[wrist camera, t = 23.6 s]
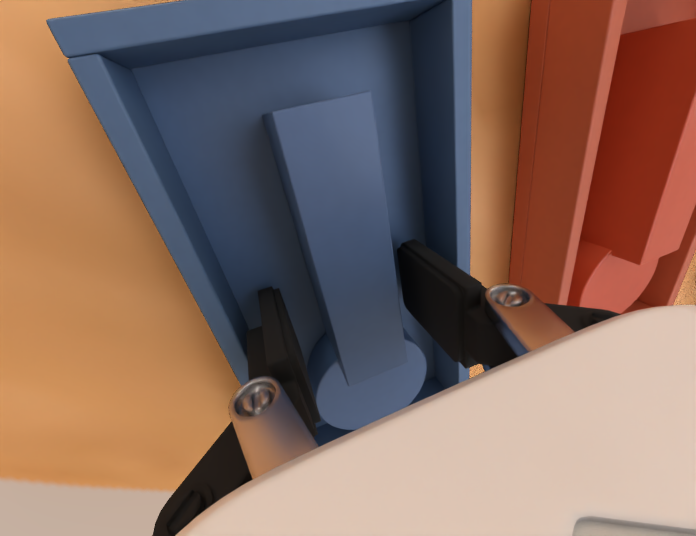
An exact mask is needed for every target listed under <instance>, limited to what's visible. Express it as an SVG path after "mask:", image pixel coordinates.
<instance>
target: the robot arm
mask: <svg viewBox="0 0 696 536" xmlns="http://www.w3.org/2000/svg"><path fill="white" fill-rule="evenodd" d="M397 255H398V263H399V271H400V279H401V287H402V295H403V302H404V305H405V307H406V309H407V310H408V311H409V312H410V313H411V315H412V316H413V317H414V318H415V319H416V320H417V321H418V322H419V323H420V325H421V326H422V327H423V328H424V329H425V330H426V331H427V332H428V333H429V334H430V336H431V337H432V338H433V339H434V340H435V341H436V342H437V343H438V344H439V345H440V347H441V348H442V349H443V350H444V351H445V352H446V353H447V354H448V355H449V356H450V358H451V359H452V360H453V361H454V362H460V363H461V364H462V365H463V367H464V368H465V369H467V368H470V367H472V366H474V365H476V364H482V365H483V368H484V370H485V372H483V373H481V374H479V375H476V376H474V377H472V378H470V379H467V380H465V381H463V382H461V383H458V384H456V385H454V386H452V387H450V388H447V389H445V390H443V391H441V392H438V393H436V394H434V395H432V396H430V397H427V398H425V399H423V400H421V401H418V402H416V403H414V404H412V405H410V406H407V407H405V408H403V409H401V410H399V411H396V412H394V413H392V414H390V415H388V416H385V417H383V418H381V419H379V420H377V421H374V422H372V423H370V424H368V425H366V426H363V427H361V428H359V429H357V430H355V431H353V432H350V433H348V434H346V435H344V436H342V437H339V438H337V439H335V440H333V441H331V442H328V443H326V444H324V445H322V446H320V447H319V446H318V444H317V443H316V441H315V440H314V437H315V435H318V432H317V428H316V423H318V422H320V421H321V418H320V415H319V411H318V408H317V404H316V401H315V397H314V394H313V390H312V386H311V383H310V379H309V376H308V372H307V369H306V365H305V362H304V358H303V355H302V351H301V348H300V345H299V342H298V339H297V336H296V333H295V331H294V328H293V325H292V322H291V320H290V317H289V314H288V311H287V309H286V306H285V303H284V300H283V298H282V295H281V292H280V289H279V288H277V289H273V287H272V286H271V287H268V288H265V289H262V290H259V291H258V298H259V306H260V314H261V322H262V326H260V327H257V328H254V329H251V330H248V331H247V334H246V335H247V356H248V377H249V381H247V382H246V383H244V384H243V385H242V386H240V387H239V388H238V390H237V391H236V392H235V393H234V394H233V396H232V398H231V400H230V403H229V407H228V408H229V415H230V417H231V420H232V422H231V423H230V424H229V425H228V427H227V428H226V429H225V430H224V432H223V433H222V434H221V435H220V437H219V438H218V439H217V440H216V442H215V443H214V444H213V445H212V446H211V448H210V449H209V450H208V451H207V453H206V454H205V455H204V456H203V458H202V459H201V460H200V461H199V463H198V464H197V465H196V466H195V468H194V469H193V470H192V471H191V472H190V474H189V475H188V476H187V477H186V479H185V480H184V481H183V482H182V484H181V485H180V486H179V487H178V489H177V490H176V491H175V492H174V494H173V495H172V496H171V497H170V498H169V500H168V501H167V503H166V504H165V506H164V507H163V509H162V510H161V512H160V514H159V516H158V519H157V521H156V523H155V528H154V532H153V535H152V536H696V305H671V306H659V307H652V308H646V309H641V310H636V311H632V312H629V313H625V314H622V315H621V314H619V313H616V312H613V311H609V310H603V309H596V308H586V307H577V306H567V305H558V304H549V303H543V302H542V301H541V300H540V299H539V298H538V297H537V296H536V295H535V294H534V293H533V292H532V291H530V290H529V289H527V288H525V287H523V286H520V285H516V284H507V283H504V284H497V285H494V286H491V287H490V288H488V289H487V288H485V287H484V286H482V285H481V282H479V281H478V280H476V279H475V278H473V277H472V276H470V275H469V274H467V273H466V272H464V271H463V270H461V269H460V268H458V267H457V266H455V265H454V264H452V263H451V262H449V261H447V260H446V259H444V258H443V257H441V256H440V255H438V254H437V253H435V252H434V251H432V250H431V249H429V248H428V247H426V246H425V245H423V244H422V243H420V242H419V241H417V240H416V239H412V240H409V241H406V242H403V243H401V245H400V247H399V248H398V249H397Z"/></svg>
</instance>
